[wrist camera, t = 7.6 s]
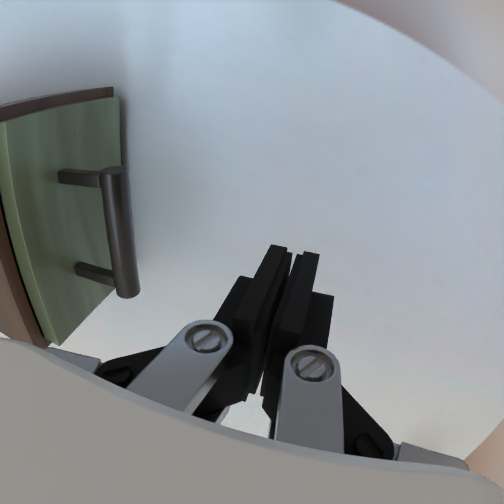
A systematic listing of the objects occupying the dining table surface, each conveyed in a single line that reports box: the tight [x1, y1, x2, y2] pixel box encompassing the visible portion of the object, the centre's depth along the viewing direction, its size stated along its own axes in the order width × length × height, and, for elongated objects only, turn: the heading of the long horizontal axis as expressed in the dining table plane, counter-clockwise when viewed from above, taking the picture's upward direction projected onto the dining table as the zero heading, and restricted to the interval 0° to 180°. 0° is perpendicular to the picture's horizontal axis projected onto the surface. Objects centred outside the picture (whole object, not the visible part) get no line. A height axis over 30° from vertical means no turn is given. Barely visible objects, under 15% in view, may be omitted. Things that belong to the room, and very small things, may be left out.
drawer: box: [0, 97, 140, 346], centre depth 16 cm, size 20×11×8 cm, turn 86°
